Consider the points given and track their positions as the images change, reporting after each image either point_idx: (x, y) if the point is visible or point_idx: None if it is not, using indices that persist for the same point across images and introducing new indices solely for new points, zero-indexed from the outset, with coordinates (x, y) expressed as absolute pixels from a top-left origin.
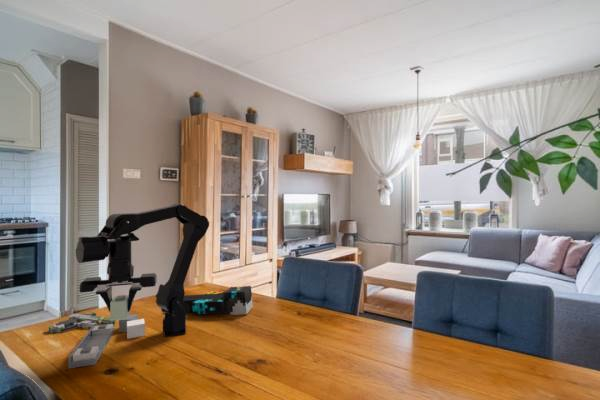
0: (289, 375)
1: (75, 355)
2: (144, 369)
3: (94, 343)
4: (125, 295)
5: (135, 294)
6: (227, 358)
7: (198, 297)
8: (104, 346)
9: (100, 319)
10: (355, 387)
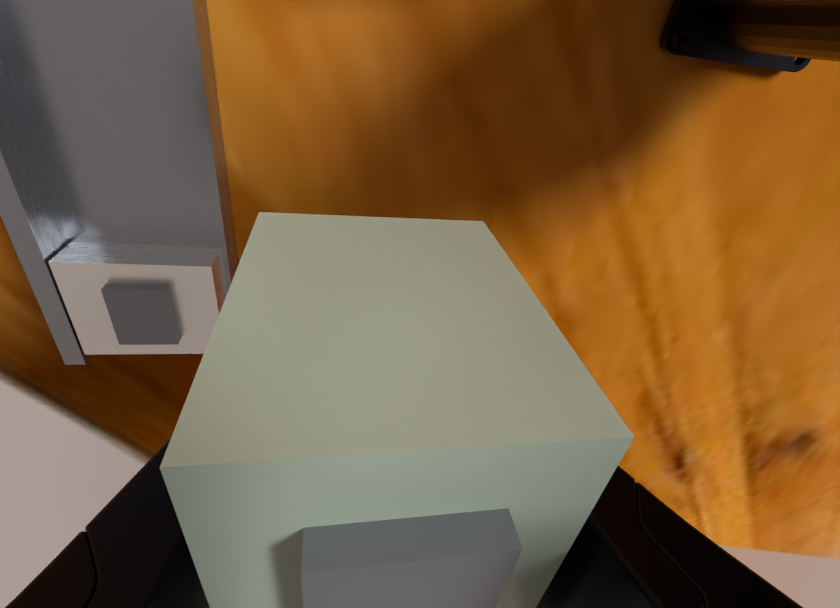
0: (787, 503)
1: (105, 352)
2: None
3: (98, 53)
4: (511, 552)
5: (727, 571)
6: (746, 408)
7: None
8: (213, 97)
9: None
10: (828, 543)
